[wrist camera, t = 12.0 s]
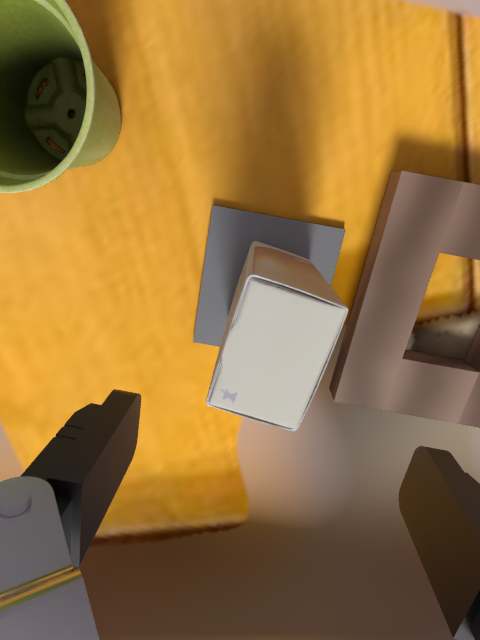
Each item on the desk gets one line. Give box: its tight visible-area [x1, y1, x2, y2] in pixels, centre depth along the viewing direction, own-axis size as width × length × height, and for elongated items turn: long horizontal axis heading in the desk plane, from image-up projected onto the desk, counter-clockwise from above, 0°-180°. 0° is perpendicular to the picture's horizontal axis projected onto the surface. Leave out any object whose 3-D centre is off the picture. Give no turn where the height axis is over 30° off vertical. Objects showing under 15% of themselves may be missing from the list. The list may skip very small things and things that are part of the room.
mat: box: [193, 205, 345, 347], centre depth 27 cm, size 9×10×1 cm
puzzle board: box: [329, 171, 480, 428], centre depth 26 cm, size 13×16×2 cm
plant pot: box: [0, 0, 121, 193], centre depth 20 cm, size 9×9×9 cm
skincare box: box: [206, 241, 348, 431], centre depth 21 cm, size 6×4×12 cm
